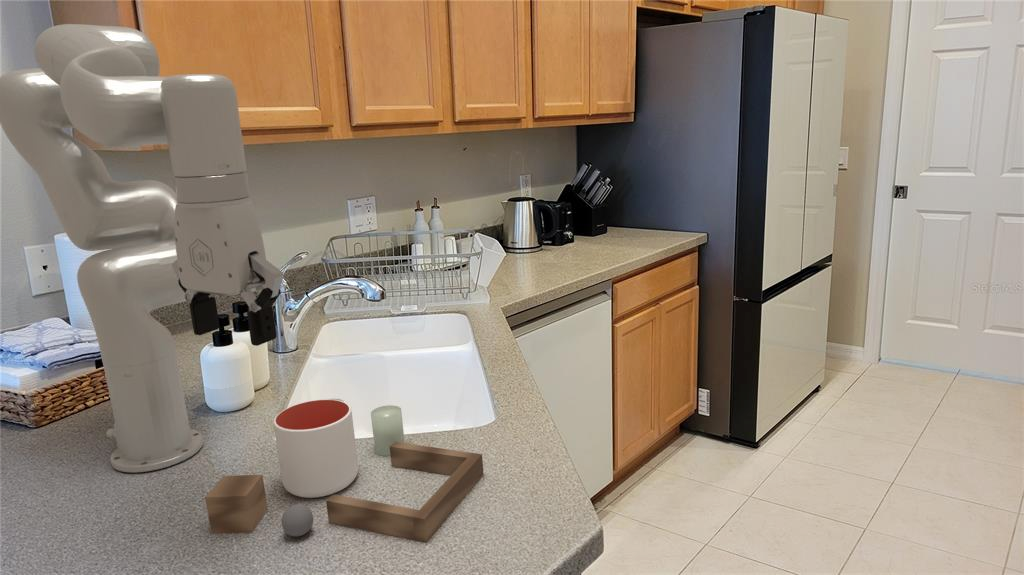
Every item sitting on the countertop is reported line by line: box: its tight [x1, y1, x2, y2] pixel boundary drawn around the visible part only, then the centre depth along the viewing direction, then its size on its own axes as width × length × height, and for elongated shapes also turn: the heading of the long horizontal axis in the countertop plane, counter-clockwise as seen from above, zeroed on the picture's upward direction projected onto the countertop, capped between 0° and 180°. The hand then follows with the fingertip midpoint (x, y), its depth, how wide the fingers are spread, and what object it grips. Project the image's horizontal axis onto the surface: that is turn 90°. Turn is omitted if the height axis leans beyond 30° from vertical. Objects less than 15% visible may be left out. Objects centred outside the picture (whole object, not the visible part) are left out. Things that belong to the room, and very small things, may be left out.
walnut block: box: [204, 474, 268, 535], centre depth 85 cm, size 5×5×5 cm
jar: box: [370, 404, 406, 457], centre depth 102 cm, size 4×4×6 cm
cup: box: [273, 398, 359, 499], centre depth 93 cm, size 10×10×10 cm
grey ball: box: [281, 503, 314, 537], centre depth 82 cm, size 4×4×4 cm
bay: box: [325, 442, 485, 543], centre depth 88 cm, size 14×16×3 cm
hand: (235, 336), depth 81 cm, fingers open, 9 cm apart
